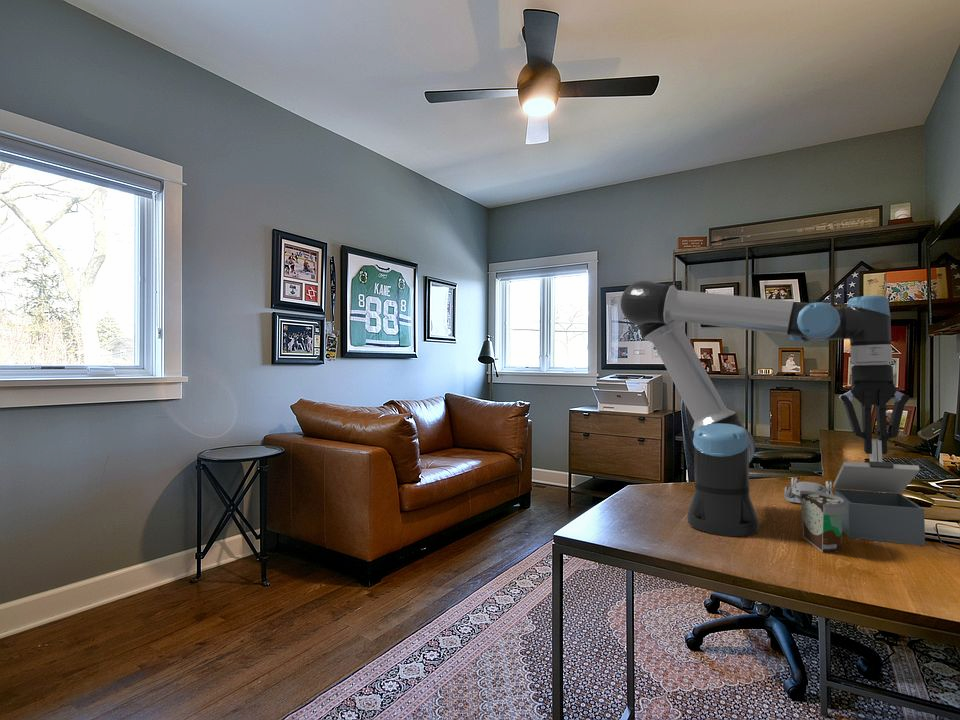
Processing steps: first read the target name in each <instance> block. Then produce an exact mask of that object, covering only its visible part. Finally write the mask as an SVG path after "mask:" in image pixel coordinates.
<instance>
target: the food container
mask: <svg viewBox="0 0 960 720" xmlns="http://www.w3.org/2000/svg"><path fill="white" fill-rule="evenodd" d="M800 500H801V504H800V508H801V522H802V537H803V539H804V540H806V541H807V542H808V543H810V544H811V545H812V546H814V547H815V548H816V549H817V550H819V552H821V553H822V554H831V553H832V554H833V553H837V552H841V550H842V541H843V514H845V513H847V507H846V504H845V502H844V500H843V499H842V498H840V497H838V496H835V495H834V494H833V495H831V494H826V493H821V492H813V491H800Z"/></svg>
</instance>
